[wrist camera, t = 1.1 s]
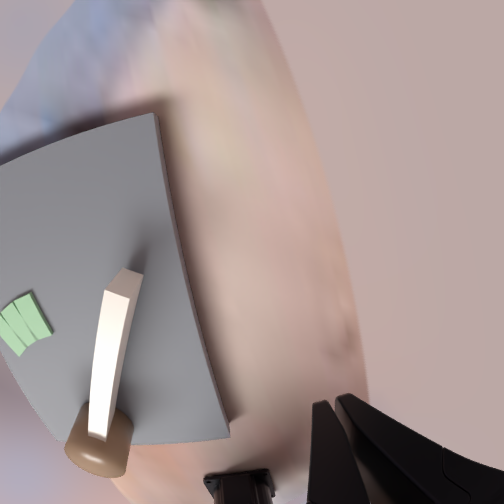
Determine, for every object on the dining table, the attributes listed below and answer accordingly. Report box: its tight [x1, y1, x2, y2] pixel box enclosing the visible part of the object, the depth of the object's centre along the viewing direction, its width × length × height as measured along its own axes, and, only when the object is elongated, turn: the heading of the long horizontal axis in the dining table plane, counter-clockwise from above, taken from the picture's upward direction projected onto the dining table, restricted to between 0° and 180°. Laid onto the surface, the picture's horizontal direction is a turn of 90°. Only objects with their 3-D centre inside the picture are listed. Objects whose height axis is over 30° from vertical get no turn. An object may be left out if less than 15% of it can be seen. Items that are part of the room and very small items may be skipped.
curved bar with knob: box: [64, 268, 144, 478], centre depth 15 cm, size 15×4×4 cm, turn 159°
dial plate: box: [0, 112, 230, 445], centre depth 16 cm, size 22×16×2 cm
